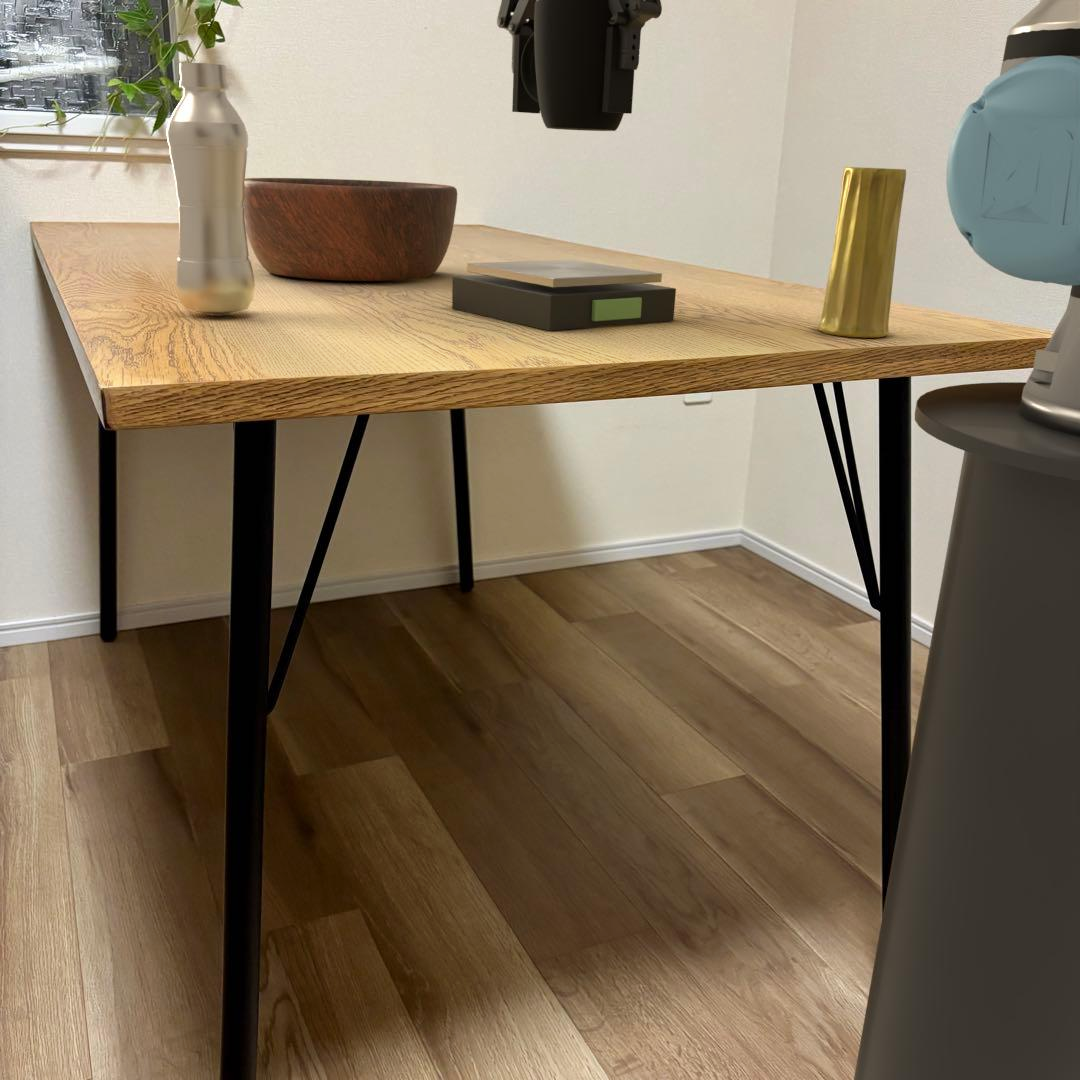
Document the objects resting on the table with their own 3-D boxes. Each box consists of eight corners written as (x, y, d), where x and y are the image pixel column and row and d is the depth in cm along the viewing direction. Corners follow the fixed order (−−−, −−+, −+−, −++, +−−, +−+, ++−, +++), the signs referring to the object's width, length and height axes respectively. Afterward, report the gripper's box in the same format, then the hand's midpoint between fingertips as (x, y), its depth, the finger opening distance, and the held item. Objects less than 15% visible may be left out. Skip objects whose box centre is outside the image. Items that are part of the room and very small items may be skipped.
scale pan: (661, 282, 101) (662, 273, 101) (553, 287, 93) (553, 278, 93) (572, 267, 111) (572, 259, 110) (466, 271, 103) (467, 263, 103)
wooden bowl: (425, 263, 144) (426, 181, 141) (483, 285, 122) (485, 190, 119) (231, 262, 136) (226, 175, 132) (255, 286, 114) (250, 183, 110)
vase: (891, 340, 96) (916, 169, 91) (820, 335, 97) (841, 166, 92) (883, 330, 102) (906, 169, 97) (816, 326, 102) (836, 166, 98)
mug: (652, 132, 97) (660, 6, 93) (584, 128, 90) (591, -7, 87) (554, 130, 104) (559, 14, 101) (486, 126, 98) (488, 2, 95)
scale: (676, 321, 102) (679, 288, 101) (552, 331, 93) (554, 296, 92) (571, 300, 113) (572, 271, 112) (451, 308, 104) (452, 276, 103)
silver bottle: (214, 306, 99) (200, 67, 92) (272, 314, 96) (262, 68, 89) (160, 314, 93) (141, 60, 87) (220, 322, 90) (205, 61, 84)
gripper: (461, -152, 96) (458, 110, 104) (651, -211, 79) (631, 110, 86) (528, -136, 101) (520, 114, 108) (722, -188, 83) (697, 115, 90)
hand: (569, 113), depth 97 cm, fingers closed on mug, 12 cm apart
